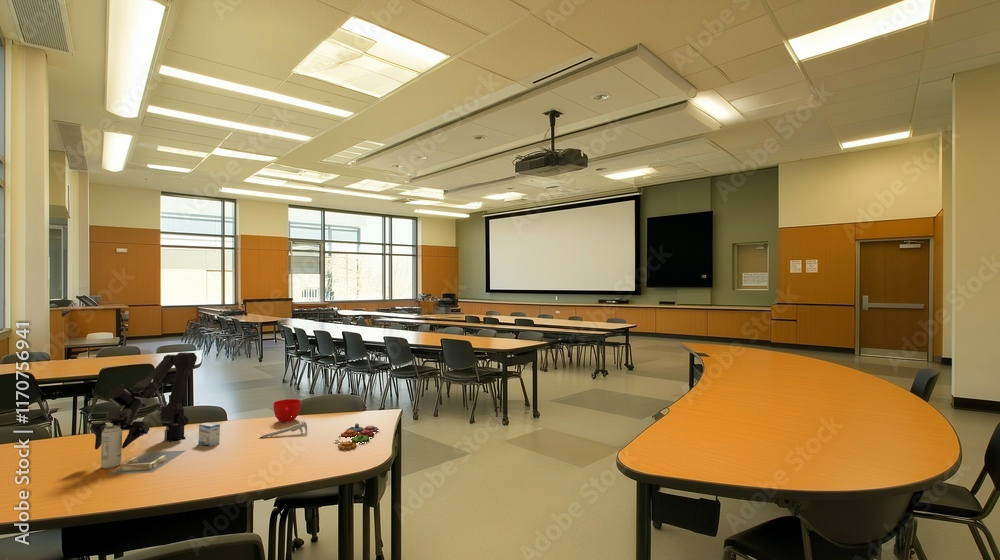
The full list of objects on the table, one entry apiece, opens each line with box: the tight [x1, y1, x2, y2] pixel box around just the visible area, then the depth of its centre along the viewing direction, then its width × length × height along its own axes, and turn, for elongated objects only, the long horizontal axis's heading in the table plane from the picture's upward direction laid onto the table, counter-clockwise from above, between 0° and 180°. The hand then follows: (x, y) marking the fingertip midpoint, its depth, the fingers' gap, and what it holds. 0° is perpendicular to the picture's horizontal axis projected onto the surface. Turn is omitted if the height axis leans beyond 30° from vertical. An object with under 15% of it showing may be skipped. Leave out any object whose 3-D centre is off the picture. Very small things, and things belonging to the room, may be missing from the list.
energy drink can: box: [100, 425, 123, 470], centre depth 177 cm, size 6×6×15 cm
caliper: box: [260, 420, 308, 438], centre depth 217 cm, size 20×1×6 cm, turn 115°
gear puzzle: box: [334, 423, 380, 451], centre depth 211 cm, size 31×16×4 cm, turn 179°
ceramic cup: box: [273, 398, 302, 423], centre depth 239 cm, size 13×17×10 cm
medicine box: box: [198, 422, 221, 447], centre depth 204 cm, size 8×4×9 cm, turn 68°
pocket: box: [119, 455, 166, 471], centre depth 178 cm, size 9×11×2 cm
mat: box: [107, 450, 187, 476], centre depth 182 cm, size 24×15×1 cm, turn 9°
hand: (109, 448), depth 176 cm, fingers open, 9 cm apart
